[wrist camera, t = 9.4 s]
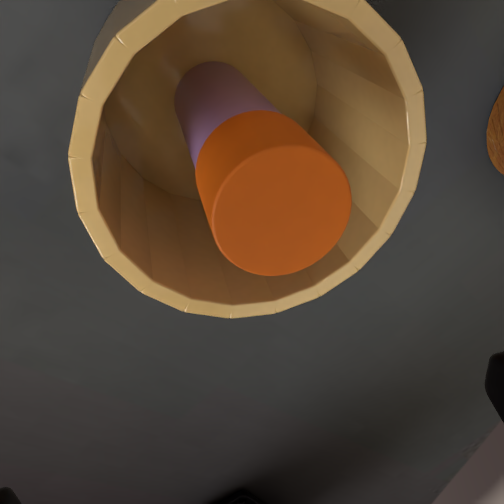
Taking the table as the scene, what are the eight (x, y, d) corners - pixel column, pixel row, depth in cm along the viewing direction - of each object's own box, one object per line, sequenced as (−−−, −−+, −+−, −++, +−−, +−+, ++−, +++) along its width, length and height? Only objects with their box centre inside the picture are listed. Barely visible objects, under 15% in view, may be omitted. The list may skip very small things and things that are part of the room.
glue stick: (269, 110, 18) (375, 222, 10) (205, 158, 18) (263, 300, 11) (223, 39, 16) (309, 113, 9) (153, 93, 17) (179, 208, 9)
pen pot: (359, 119, 20) (469, 197, 13) (190, 241, 21) (220, 364, 15) (241, -102, 15) (328, -139, 9) (32, 71, 16) (-24, 147, 10)
